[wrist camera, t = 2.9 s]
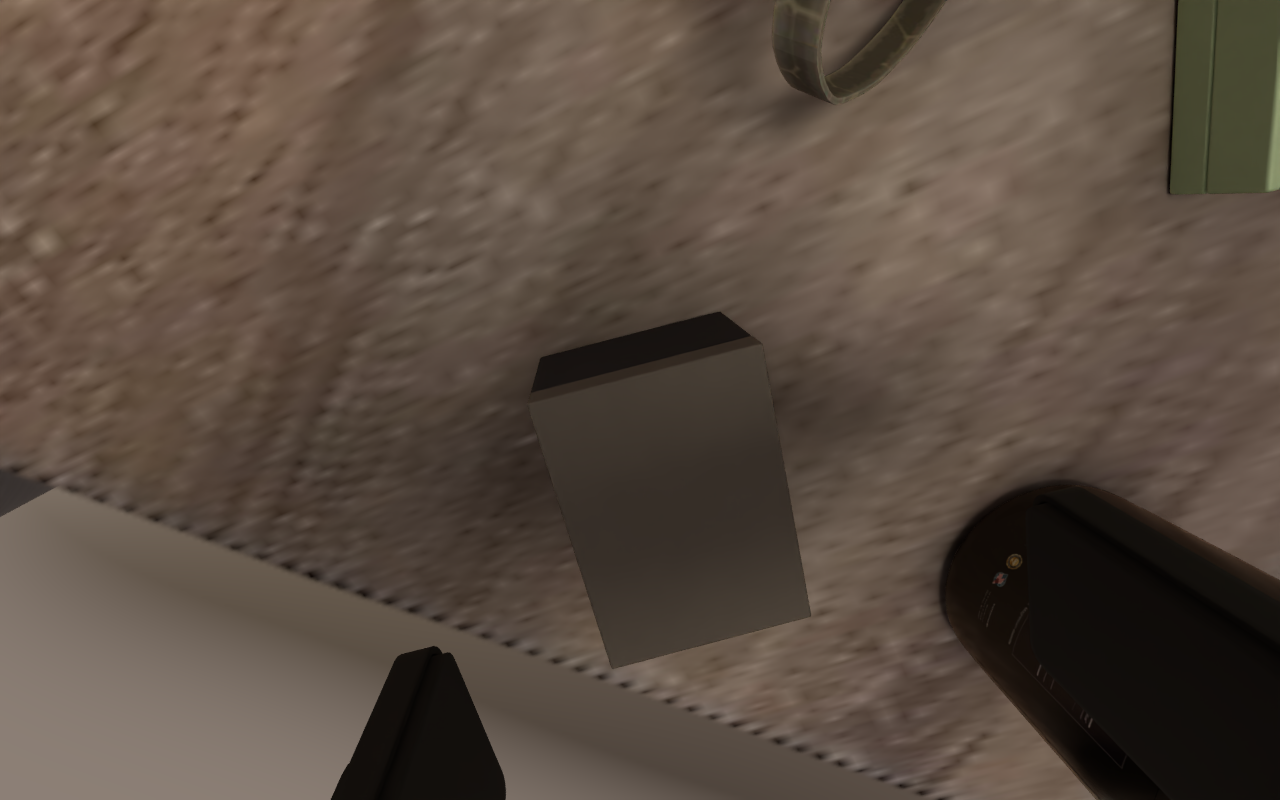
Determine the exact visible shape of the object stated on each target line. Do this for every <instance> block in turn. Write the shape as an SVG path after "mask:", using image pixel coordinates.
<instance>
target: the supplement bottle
mask: <svg viewBox="0 0 1280 800" xmlns="http://www.w3.org/2000/svg"><path fill="white" fill-rule="evenodd" d="M1069 487H1081V488H1083V489H1085V490H1087V491H1089V492H1090V493H1092V494H1094V495H1096V496H1097V497H1099V498H1101V499H1103V500H1104V501H1106V502H1108V503H1109V504H1111V505H1113V506H1115V507H1116V508H1118V509H1120V510H1122V511H1123V512H1125V513H1127V514H1128V515H1130V516H1132V517H1134V518H1135V519H1137V520H1139V521H1140V522H1142V523H1144V524H1146V525H1147V526H1149V527H1151V528H1153V529H1154V530H1156V531H1158V532H1159V533H1161V534H1163V535H1165V536H1166V537H1168V538H1170V539H1172V540H1173V541H1175V542H1177V543H1178V544H1180V545H1182V546H1184V547H1185V548H1187V549H1189V550H1190V551H1192V552H1194V553H1196V554H1197V555H1199V556H1201V557H1203V558H1204V559H1206V560H1208V561H1209V562H1211V563H1213V564H1215V565H1216V566H1218V567H1220V568H1222V569H1223V570H1225V571H1227V572H1228V573H1230V574H1232V575H1234V576H1235V577H1237V578H1239V579H1240V580H1242V581H1244V582H1246V583H1247V584H1249V585H1251V586H1253V587H1254V588H1256V589H1258V590H1259V591H1261V592H1263V593H1265V594H1266V595H1268V596H1270V597H1272V598H1273V599H1275V600H1277V601H1278V602H1280V580H1279V579H1277V578H1275V577H1273V576H1271V575H1269V574H1267V573H1265V572H1263V571H1262V570H1260V569H1258V568H1256V567H1254V566H1252V565H1250V564H1248V563H1246V562H1244V561H1243V560H1241V559H1239V558H1237V557H1235V556H1233V555H1231V554H1229V553H1227V552H1225V551H1223V550H1222V549H1220V548H1218V547H1216V546H1214V545H1212V544H1210V543H1208V542H1206V541H1204V540H1203V539H1201V538H1199V537H1197V536H1195V535H1193V534H1191V533H1189V532H1187V531H1185V530H1183V529H1182V528H1180V527H1178V526H1176V525H1174V524H1172V523H1170V522H1168V521H1166V520H1164V519H1162V518H1161V517H1159V516H1157V515H1155V514H1153V513H1151V512H1149V511H1147V510H1145V509H1143V508H1141V507H1139V506H1137V505H1135V504H1133V503H1131V502H1129V501H1127V500H1125V499H1123V498H1121V497H1119V496H1117V495H1114V494H1112V493H1110V492H1107V491H1105V490H1101V489H1098V488H1094V487H1088V486H1082V485H1058V486H1049V487H1045V488H1040V489H1036V490H1033V491H1030V492H1027V493H1024V494H1022V495H1019V496H1017V497H1015V498H1013V499H1011V500H1009V501H1007V502H1005V503H1003V504H1002V505H1000V506H999V507H997V508H996V509H994V510H993V511H991V512H990V513H989V514H988V515H987V516H985V517H984V518H983V519H982V520H981V521H980V522H979V523H978V524H977V525H976V526H975V527H974V528H973V529H972V530H971V531H970V532H969V534H968V535H967V536H966V538H965V539H964V540H963V542H962V544H961V545H960V547H959V548H958V550H957V552H956V554H955V556H954V558H953V561H952V563H951V566H950V569H949V573H948V577H947V582H946V591H945V598H946V609H947V614H948V618H949V621H950V624H951V626H952V628H953V631H954V633H955V634H956V636H957V638H958V639H959V641H960V642H961V643H962V645H963V646H964V647H965V649H966V650H967V651H968V652H969V654H970V655H971V656H972V657H973V658H974V660H975V661H976V662H977V663H978V664H979V665H980V667H981V668H982V669H983V670H984V671H985V673H986V674H987V675H988V676H989V677H990V678H991V680H992V681H993V682H994V683H995V684H996V685H997V686H998V688H999V689H1000V690H1001V691H1002V692H1003V693H1004V694H1005V696H1006V697H1007V698H1008V699H1009V700H1010V701H1011V702H1012V704H1013V705H1014V706H1015V707H1016V708H1017V709H1018V711H1019V712H1020V713H1021V714H1022V715H1023V716H1024V717H1025V719H1026V720H1027V721H1028V722H1029V723H1030V724H1031V725H1032V727H1033V728H1034V729H1035V730H1036V731H1037V732H1038V733H1039V735H1040V736H1041V737H1042V738H1043V739H1044V740H1045V741H1046V743H1047V744H1048V745H1049V746H1050V747H1051V748H1052V750H1053V751H1054V752H1055V753H1056V754H1057V755H1058V756H1059V758H1060V759H1061V760H1062V761H1063V762H1064V763H1065V764H1066V766H1067V767H1068V768H1069V769H1070V770H1071V771H1072V772H1073V774H1074V775H1075V776H1076V777H1077V778H1078V779H1079V780H1080V782H1081V783H1082V784H1083V785H1084V786H1085V787H1086V789H1087V790H1088V791H1089V792H1090V793H1091V794H1092V795H1093V797H1094V798H1095V799H1096V800H1170V799H1169V798H1168V797H1167V795H1166V794H1165V793H1164V792H1163V791H1162V790H1161V789H1160V788H1159V787H1158V786H1157V785H1156V784H1155V783H1154V782H1153V781H1152V780H1151V779H1150V778H1149V777H1148V776H1147V775H1146V774H1145V773H1144V772H1143V771H1142V770H1141V769H1140V768H1139V767H1138V766H1137V764H1136V763H1135V762H1134V761H1133V760H1132V759H1131V758H1130V757H1129V756H1128V755H1127V754H1126V753H1125V752H1124V751H1123V750H1122V749H1121V748H1120V747H1119V746H1118V745H1117V744H1116V743H1115V742H1114V741H1113V740H1112V739H1111V738H1110V737H1109V736H1108V734H1107V733H1106V732H1105V731H1104V730H1103V729H1102V728H1101V727H1100V726H1099V725H1098V724H1097V723H1096V722H1095V721H1094V720H1093V719H1092V718H1091V717H1090V716H1089V715H1088V714H1087V713H1086V712H1085V711H1084V710H1083V709H1082V708H1081V707H1080V706H1079V705H1078V703H1077V702H1076V701H1075V700H1074V699H1073V698H1072V697H1071V696H1070V695H1069V694H1068V693H1067V692H1066V691H1065V690H1064V689H1063V688H1062V687H1061V686H1060V685H1059V684H1058V683H1057V682H1056V681H1055V680H1054V679H1053V678H1052V677H1051V676H1050V675H1049V674H1048V672H1047V671H1046V670H1045V669H1044V668H1043V667H1042V666H1041V665H1040V663H1039V662H1038V660H1037V659H1036V657H1035V655H1034V653H1033V650H1032V647H1031V642H1030V621H1029V596H1028V571H1027V545H1026V520H1025V516H1026V511H1027V509H1028V508H1030V507H1032V506H1033V501H1034V499H1035V497H1037V496H1038V495H1041V494H1045V493H1049V492H1053V491H1057V490H1061V489H1065V488H1069Z"/></svg>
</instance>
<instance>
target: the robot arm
mask: <svg viewBox="0 0 1280 800" xmlns="http://www.w3.org/2000/svg"><path fill="white" fill-rule="evenodd" d="M1025 520H1026V545H1027V571H1028V596H1029V621H1030V642H1031V647H1032V650H1033V653H1034V655H1035V657H1036V659H1037V660H1038V662H1039V663H1040V665H1041V666H1042V667H1043V668H1044V669H1045V670H1046V671H1047V672H1048V674H1049V675H1050V676H1051V677H1052V678H1053V679H1054V680H1055V681H1056V682H1057V683H1058V684H1059V685H1060V686H1061V687H1062V688H1063V689H1064V690H1065V691H1066V692H1067V693H1068V694H1069V695H1070V696H1071V697H1072V698H1073V699H1074V700H1075V701H1076V702H1077V703H1078V705H1079V706H1080V707H1081V708H1082V709H1083V710H1084V711H1085V712H1086V713H1087V714H1088V715H1089V716H1090V717H1091V718H1092V719H1093V720H1094V721H1095V722H1096V723H1097V724H1098V725H1099V726H1100V727H1101V728H1102V729H1103V730H1104V731H1105V732H1106V733H1107V734H1108V736H1109V737H1110V738H1111V739H1112V740H1113V741H1114V742H1115V743H1116V744H1117V745H1118V746H1119V747H1120V748H1121V749H1122V750H1123V751H1124V752H1125V753H1126V754H1127V755H1128V756H1129V757H1130V758H1131V759H1132V760H1133V761H1134V762H1135V763H1136V764H1137V766H1138V767H1139V768H1140V769H1141V770H1142V771H1143V772H1144V773H1145V774H1146V775H1147V776H1148V777H1149V778H1150V779H1151V780H1152V781H1153V782H1154V783H1155V784H1156V785H1157V786H1158V787H1159V788H1160V789H1161V790H1162V791H1163V792H1164V793H1165V794H1166V795H1167V797H1168V798H1169V799H1170V800H1280V602H1278V601H1277V600H1275V599H1273V598H1272V597H1270V596H1268V595H1266V594H1265V593H1263V592H1261V591H1259V590H1258V589H1256V588H1254V587H1253V586H1251V585H1249V584H1247V583H1246V582H1244V581H1242V580H1240V579H1239V578H1237V577H1235V576H1234V575H1232V574H1230V573H1228V572H1227V571H1225V570H1223V569H1222V568H1220V567H1218V566H1216V565H1215V564H1213V563H1211V562H1209V561H1208V560H1206V559H1204V558H1203V557H1201V556H1199V555H1197V554H1196V553H1194V552H1192V551H1190V550H1189V549H1187V548H1185V547H1184V546H1182V545H1180V544H1178V543H1177V542H1175V541H1173V540H1172V539H1170V538H1168V537H1166V536H1165V535H1163V534H1161V533H1159V532H1158V531H1156V530H1154V529H1153V528H1151V527H1149V526H1147V525H1146V524H1144V523H1142V522H1140V521H1139V520H1137V519H1135V518H1134V517H1132V516H1130V515H1128V514H1127V513H1125V512H1123V511H1122V510H1120V509H1118V508H1116V507H1115V506H1113V505H1111V504H1109V503H1108V502H1106V501H1104V500H1103V499H1101V498H1099V497H1097V496H1096V495H1094V494H1092V493H1090V492H1089V491H1087V490H1085V489H1083V488H1081V487H1069V488H1065V489H1061V490H1057V491H1053V492H1049V493H1045V494H1041V495H1038V496H1037V497H1035V499H1034V501H1033V506H1032V507H1030V508H1028V509H1027V511H1026V516H1025ZM505 799H506V788H505V780H504V775H503V772H502V770H501V768H500V765H499V763H498V760H497V758H496V756H495V753H494V751H493V749H492V746H491V744H490V742H489V739H488V737H487V734H486V732H485V730H484V727H483V725H482V723H481V720H480V718H479V715H478V713H477V711H476V708H475V706H474V704H473V701H472V699H471V697H470V694H469V692H468V689H467V687H466V685H465V682H464V680H463V678H462V675H461V673H460V671H459V668H458V666H457V664H456V661H455V659H454V657H453V655H452V654H451V653H444V654H442V652H441V650H440V649H439V648H438V647H435V646H432V647H429V648H424V649H421V650H416V651H413V652H409V653H404V654H401V655H399V656H398V657H397V658H396V660H395V661H394V664H393V666H392V668H391V670H390V673H389V675H388V677H387V679H386V682H385V684H384V686H383V688H382V691H381V693H380V695H379V697H378V700H377V702H376V704H375V707H374V709H373V711H372V713H371V716H370V718H369V720H368V722H367V725H366V727H365V729H364V731H363V734H362V736H361V738H360V741H359V743H358V745H357V747H356V750H355V752H354V754H353V757H352V759H351V761H350V763H349V764H348V765H347V767H346V769H345V770H344V772H343V774H342V775H341V778H340V780H339V782H338V784H337V787H336V789H335V791H334V793H333V796H332V798H331V800H505Z"/></svg>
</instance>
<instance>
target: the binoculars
mask: <svg viewBox="0 0 1280 800" xmlns="http://www.w3.org/2000/svg"><path fill="white" fill-rule="evenodd" d="M830 1H831V0H776V1H775V6H774V14H773V26H772V41H773V49H774V53H775V57H776V61H777V64H778V66H779V69H780V71H781V73H782V75H783V76H784V78H785V80H786V81H787V82H788V83H789V84H790V85H791V86H792V87H794V88H795V89H797V90H800V91H802V92H805V93H807V94H810V95H812V96H814V97H817V98H819V99H822V100H824V101H827V102H829V103H832V104H834V105H837V104H843V103H845V102H847V101H849V100H852V99H854V98H856V97H858V96H860V95H862V94H864V93H866V92H867V91H869V90H870V89H872V88H873V87H874V86H876V85H877V84H878V83H879V82H880V81H881V80H882V79H883V78H884V77H885V76H886V75H888V74H889V73H890V72H891V70H892V69H893V68H894V67H895V66H896V65H897V64H898V63H899V62H900V61H901V60H902V59H903V57H904V56H905V55H906V54H907V53H908V52H909V51H910V50H911V48H912V47H913V46H914V45H915V44H916V43H917V41H918V40H919V39H920V38H921V36H922V35H923V33H924V32H925V31H926V29H927V28H928V27H929V25H930V24H931V22H932V21H933V20H934V18H935V17H936V15H937V14H938V12H939V11H940V10H941V8H942V7H943V5H944V4H945V2H946V1H947V0H903V2H902V3H901V5H900V6H899V7H898V9H897V10H896V12H895V13H894V14H893V16H892V17H891V18H890V20H889V21H888V22H887V23H886V25H885V26H884V27H883V28H882V29H881V30H880V32H879V33H878V34H877V35H876V36H875V37H874V38H873V39H872V40H871V41H870V42H869V43H868V44H867V45H866V46H865V47H864V48H863V49H862V50H861V51H860V52H859V53H858V54H857V55H856V56H855V57H854V58H853V59H852V60H851V61H850V62H848V63H847V64H846V65H844V66H843V67H842V68H841V69H839V70H837V71H835V72H834V73H832V74H829V75H827V76H824V73H823V69H822V60H821V46H822V36H823V31H824V26H825V22H826V17H827V12H828V8H829V4H830Z"/></svg>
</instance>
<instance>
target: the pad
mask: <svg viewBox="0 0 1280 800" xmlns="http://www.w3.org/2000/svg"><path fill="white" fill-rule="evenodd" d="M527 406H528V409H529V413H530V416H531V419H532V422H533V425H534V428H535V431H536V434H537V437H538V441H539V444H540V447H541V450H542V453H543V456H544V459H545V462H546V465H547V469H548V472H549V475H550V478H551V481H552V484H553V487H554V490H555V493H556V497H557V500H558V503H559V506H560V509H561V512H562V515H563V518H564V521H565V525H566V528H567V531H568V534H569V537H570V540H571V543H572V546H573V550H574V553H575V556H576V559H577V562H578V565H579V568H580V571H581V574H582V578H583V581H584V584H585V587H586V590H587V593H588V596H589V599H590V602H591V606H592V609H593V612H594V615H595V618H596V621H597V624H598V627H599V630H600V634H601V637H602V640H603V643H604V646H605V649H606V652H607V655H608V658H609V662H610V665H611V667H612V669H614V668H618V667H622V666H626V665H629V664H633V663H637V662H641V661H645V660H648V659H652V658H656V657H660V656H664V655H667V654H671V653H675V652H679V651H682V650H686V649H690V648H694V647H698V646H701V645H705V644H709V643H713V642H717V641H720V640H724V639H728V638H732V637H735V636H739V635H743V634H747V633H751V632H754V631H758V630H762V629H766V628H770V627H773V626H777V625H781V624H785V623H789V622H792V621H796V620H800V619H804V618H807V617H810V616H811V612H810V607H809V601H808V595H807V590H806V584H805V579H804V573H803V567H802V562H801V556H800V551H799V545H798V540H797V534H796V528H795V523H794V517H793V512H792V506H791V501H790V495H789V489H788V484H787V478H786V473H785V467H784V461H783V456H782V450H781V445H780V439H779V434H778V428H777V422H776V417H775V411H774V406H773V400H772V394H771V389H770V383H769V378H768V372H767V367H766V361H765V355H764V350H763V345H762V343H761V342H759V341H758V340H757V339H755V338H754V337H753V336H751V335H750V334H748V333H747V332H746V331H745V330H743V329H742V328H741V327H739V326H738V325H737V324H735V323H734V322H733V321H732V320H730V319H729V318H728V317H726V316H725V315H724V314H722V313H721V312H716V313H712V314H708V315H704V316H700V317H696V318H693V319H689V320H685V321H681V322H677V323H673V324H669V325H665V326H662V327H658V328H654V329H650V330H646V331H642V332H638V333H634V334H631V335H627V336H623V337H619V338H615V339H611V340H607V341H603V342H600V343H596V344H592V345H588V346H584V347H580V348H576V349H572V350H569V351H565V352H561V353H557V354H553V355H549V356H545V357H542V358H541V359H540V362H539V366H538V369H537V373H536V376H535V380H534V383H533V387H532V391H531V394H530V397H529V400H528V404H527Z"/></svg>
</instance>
